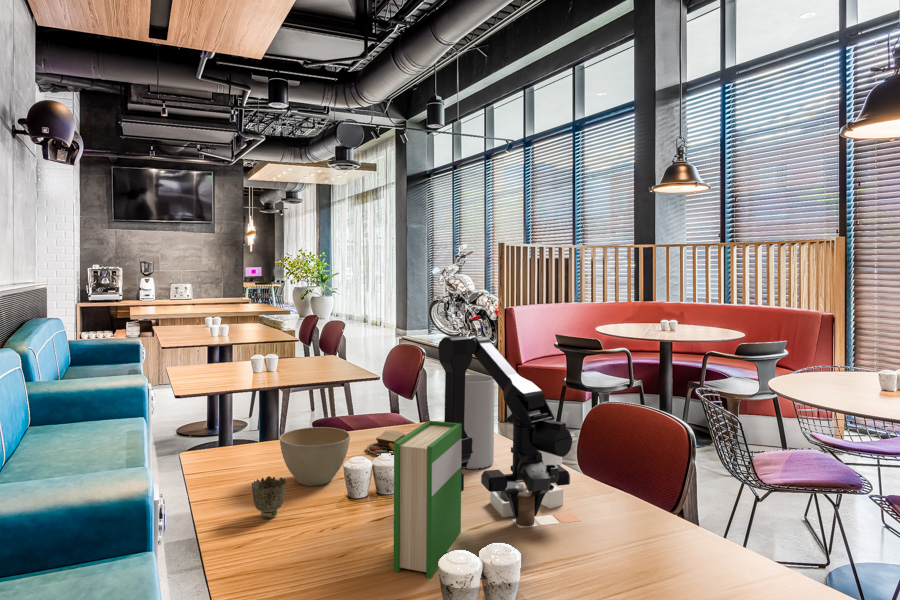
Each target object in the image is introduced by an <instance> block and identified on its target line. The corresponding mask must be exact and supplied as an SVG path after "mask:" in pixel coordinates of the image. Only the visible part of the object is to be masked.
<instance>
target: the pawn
mask: <svg viewBox="0 0 900 600" xmlns="http://www.w3.org/2000/svg"><path fill="white" fill-rule="evenodd" d="M517 500H518V518H515V519H516V523H517V524H518V525H520V526H532V525H534V521H535V519H534V517H535V516H534V515H535V495H534V494H532V492H531V491H528V492H519V493H518V495H517ZM516 523H515V524H516ZM532 527H533V526H532Z"/></svg>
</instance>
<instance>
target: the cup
mask: <svg viewBox="0 0 900 600" xmlns="http://www.w3.org/2000/svg"><path fill="white" fill-rule="evenodd" d="M286 485H287V480H286V478H285V477H284V478H283V477H282V476H281V477H280V478H279V479H276V476H273V477H271V476H267V477H266V478H264V477H261V479H260V480H259V479H257V478H256V481H255V480H253V482H251V489H252V499H253V504H254V506H255V508H256V509H257V510H258V511H260V517H261V518H263V519H266V520H267V519H273V518H275V517H277V515H278V510H279V509H280V508H281V507H282V505H283V504H284V501H285V495H286Z"/></svg>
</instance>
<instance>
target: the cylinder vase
mask: <svg viewBox="0 0 900 600" xmlns="http://www.w3.org/2000/svg"><path fill="white" fill-rule="evenodd" d="M464 430H465V432H466V434H467V435H468V437H471V438H472V440H473V442H472V451H473V453H472V454H471V457H470V459H469V461H468V464H467V467H464V468H463V469H465V468H467V469H468V470H480V469H479V468H481V469H485V467H486V468H489V467H490V466H492V465H493V463H494V461H495V460H494V457H495V456H494V455H495V453H494V449H495V447H494V446H495V445H494V443H495V441H494V440H495V380H494V379H493V378H492V377H491V375H484V374H465V415H464ZM467 469H466V470H467Z"/></svg>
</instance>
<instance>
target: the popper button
mask: <svg viewBox="0 0 900 600" xmlns="http://www.w3.org/2000/svg"><path fill="white" fill-rule="evenodd" d="M516 489H517V490H519V492H527V491H528V489H527V488H525V486H524V484H522V483H521V482H519V483H516ZM500 497H501V498H502V499H503V500H504V501H505V502H509V501H508V498H507V496H506V494H505V493H504V492H503V491H501V496H500Z"/></svg>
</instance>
